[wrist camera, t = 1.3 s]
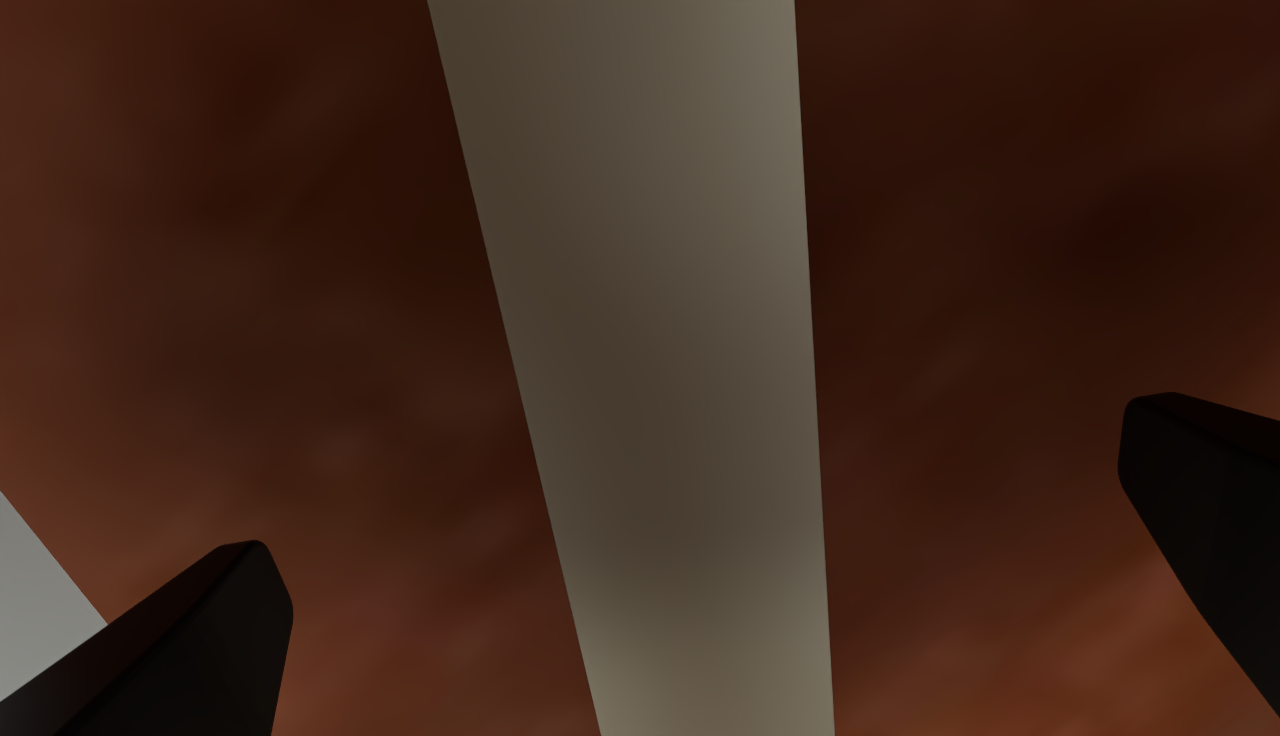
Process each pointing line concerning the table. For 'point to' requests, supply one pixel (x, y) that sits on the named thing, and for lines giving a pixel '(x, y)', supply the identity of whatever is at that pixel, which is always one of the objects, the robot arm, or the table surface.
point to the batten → (660, 340)
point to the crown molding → (35, 605)
